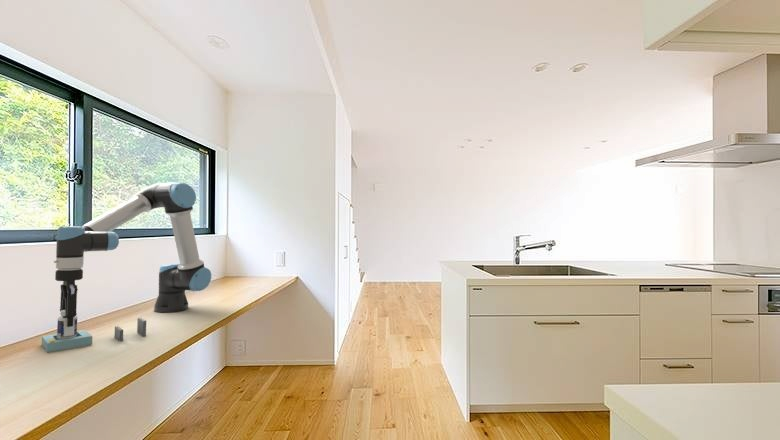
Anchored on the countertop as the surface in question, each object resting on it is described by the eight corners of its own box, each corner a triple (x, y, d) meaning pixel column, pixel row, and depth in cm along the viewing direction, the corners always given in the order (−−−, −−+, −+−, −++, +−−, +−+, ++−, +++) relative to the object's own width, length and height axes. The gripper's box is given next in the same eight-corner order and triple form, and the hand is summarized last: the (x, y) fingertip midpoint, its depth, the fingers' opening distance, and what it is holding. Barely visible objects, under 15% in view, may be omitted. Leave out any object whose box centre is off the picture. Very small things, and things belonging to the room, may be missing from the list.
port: (84, 337, 143) (84, 327, 143) (92, 344, 135) (92, 334, 135) (41, 344, 134) (42, 334, 134) (47, 352, 126) (47, 341, 126)
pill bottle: (61, 340, 131) (62, 312, 131) (53, 338, 133) (54, 310, 133) (79, 336, 136) (80, 309, 136) (71, 334, 138) (72, 307, 138)
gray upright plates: (139, 332, 150) (140, 317, 150) (145, 336, 146) (146, 320, 146) (114, 337, 144) (114, 321, 144) (119, 341, 139) (120, 324, 139)
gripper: (51, 267, 138) (48, 330, 137) (60, 272, 126) (58, 341, 125) (77, 266, 143) (75, 326, 143) (88, 270, 132) (86, 336, 131)
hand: (67, 333), depth 134 cm, fingers closed on pill bottle, 5 cm apart
